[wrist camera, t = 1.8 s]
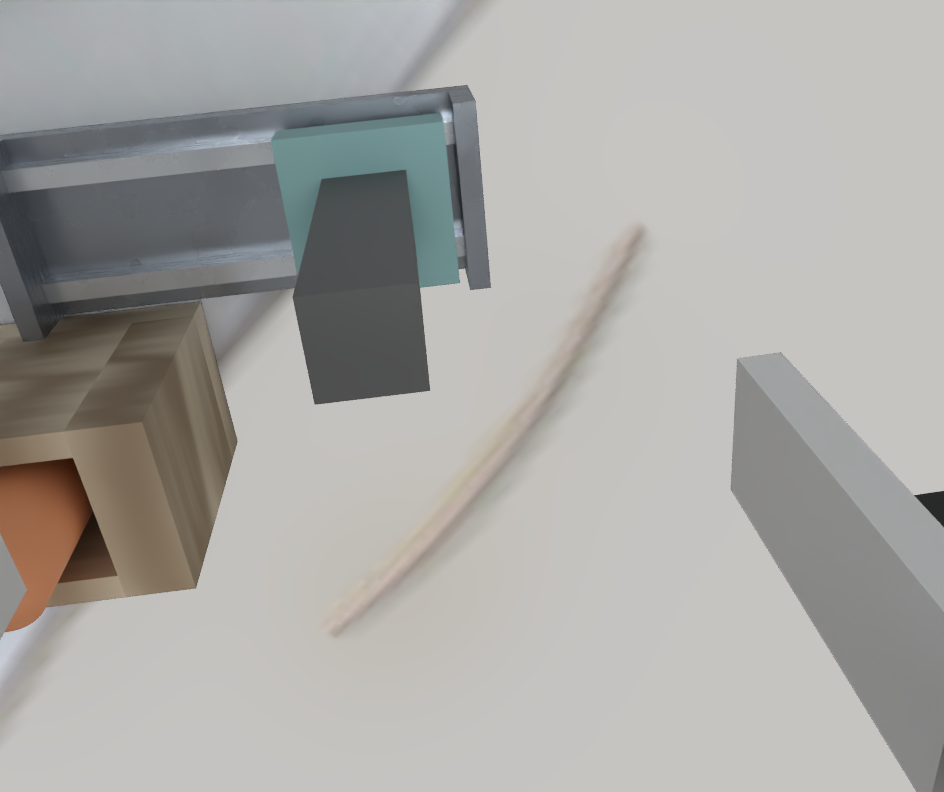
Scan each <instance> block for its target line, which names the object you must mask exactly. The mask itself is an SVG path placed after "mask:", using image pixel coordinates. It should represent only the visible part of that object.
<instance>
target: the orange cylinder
mask: <svg viewBox="0 0 944 792" xmlns="http://www.w3.org/2000/svg"><path fill="white" fill-rule="evenodd" d="M92 512H93V509H92V506H91V504H90V501H89V499H88V496H87V493H86V491H85V488H84V485H83V483H82V480H81V477H80V475H79V472H78V470H77V467H76V464H75V462H74V459H73V458H67V459H59V460H51V461H42V462H34V463H26V464H18V465H9V466H1V467H0V534H1V536H2V539H3V541H4V543H5V545H6V547H7V549H8V551H9V553H10V555H11V557H12V559H13V561H14V564H15V566H16V568H17V570H18V572H19V574H20V576H21V578H22V580H23V582H24V584H25V586H26V589H27V591H26V593H25V595H24V597H23V598H22V600H21V602H20V604H19V606H18V608H17V609H16V611H15V613H14V615H13V617H12V619H11V621H10V622H9V624H8V626H7V628H6V630H5V632H9V631H14V630H18V629H21V628H23V627H25V626H28V625H29V624H31V623H33V622H34V621H35V620H36V619H37V618H38V617H39V616H40V615H41V614H42V612H43V611H44V609H45V607H46V605H47V603H48V601H49V599H50V597H51V595H52V593H53V591H54V589H55V587H56V585H57V583H58V581H59V579H60V577H61V575H62V573H63V571H64V569H65V567H66V565H67V563H68V561H69V559H70V557H71V555H72V553H73V551H74V549H75V547H76V545H77V543H78V541H79V539H80V537H81V535H82V533H83V531H84V529H85V527H86V525H87V523H88V521H89V518H90V516H91V514H92Z"/></svg>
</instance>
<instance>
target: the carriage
mask: <svg viewBox="0 0 944 792" xmlns="http://www.w3.org/2000/svg"><path fill="white" fill-rule="evenodd" d="M271 145H272V150H273V155H274V160H275V165H276V170H277V175H278V180H279V185H280V190H281V195H282V200H283V205H284V210H285V215H286V220H287V225H288V230H289V235H290V240H291V245H292V250H293V255H294V260H295V265H296V270H297V275H298V278H297V282H296V286H295V290H294V294H293V301H294V306H295V310H296V315H297V320H298V325H299V330H300V335H301V340H302V344H303V350H304V354H305V359H306V364H307V369H308V373H309V379H310V383H311V388H312V393H313V398H314V403H315V404H323V403H332V402H340V401H348V400H357V399H365V398H373V397H381V396H390V395H398V394H406V393H414V392H422V391H430V385H429V375H428V365H427V355H426V345H425V335H424V326H423V315H422V306H421V295H420V287H429V286H437V285H446V284H455V283H460V280H459V271H458V260H457V250H456V240H455V230H454V221H453V211H452V201H451V191H450V181H449V171H448V161H447V151H446V141H445V131H444V122H443V118H442V115H441V113H435V114H426V115H417V116H408V117H398V118H389V119H380V120H371V121H362V122H352V123H343V124H334V125H325V126H315V127H306V128H297V129H288V130H279V131H275V133H274V135H273V137H272V139H271Z"/></svg>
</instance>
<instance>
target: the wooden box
mask: <svg viewBox="0 0 944 792" xmlns="http://www.w3.org/2000/svg"><path fill="white" fill-rule="evenodd" d="M236 445H237V438H236V434H235V430H234V426H233V422H232V419H231V415H230V411H229V407H228V404H227V400H226V396H225V392H224V388H223V384H222V381H221V377H220V373H219V369H218V365H217V362H216V358H215V354H214V350H213V346H212V343H211V339H210V335H209V331H208V327H207V323H206V320H205V316H204V312H203V308H202V304H201V302H192V303H184V304H175V305H166V306H158V307H149V308H140V309H132V310H123V311H114V312H106V313H97V314H88V315H80V316H71V317H62V318H61V320H60V321H59V322H58V323H57V324H56V326H55V327H54V328H53V329H52V331H51V332H50V333H49V334H48V335H47V337H46V338H45V339H44V340H36V341H27V342H23V341H22V338H21V336H20V333H19V330H18V328H17V325H16V323H10V324H2V325H0V467H1V466H9V465H18V464H26V463H34V462H42V461H51V460H59V459H67V458H73V459H74V462H75V464H76V467H77V470H78V472H79V475H80V477H81V480H82V483H83V485H84V488H85V491H86V493H87V496H88V499H89V501H90V504H91V506H92V509H93V512H92V514H91V516H90V518H89V521H88V523H87V525H86V527H85V529H84V531H83V533H82V535H81V537H80V539H79V541H78V543H77V545H76V547H75V549H74V551H73V553H72V555H71V557H70V559H69V561H68V563H67V565H66V567H65V569H64V571H63V573H62V575H61V577H60V579H59V581H58V583H57V585H56V587H55V589H54V591H53V593H52V595H51V597H50V599H49V601H48V603H47V605H46V607H53V606H61V605H68V604H76V603H84V602H92V601H100V600H108V599H115V598H123V597H131V596H139V595H146V594H154V593H162V592H170V591H178V590H186V589H194V588H196V586H197V582H198V579H199V576H200V572H201V568H202V565H203V561H204V558H205V554H206V551H207V547H208V544H209V540H210V536H211V533H212V529H213V526H214V523H215V519H216V515H217V512H218V508H219V505H220V501H221V498H222V494H223V491H224V487H225V484H226V480H227V476H228V473H229V469H230V466H231V462H232V458H233V455H234V452H235V448H236Z"/></svg>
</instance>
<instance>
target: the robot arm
mask: <svg viewBox="0 0 944 792" xmlns="http://www.w3.org/2000/svg"><path fill="white" fill-rule="evenodd" d="M731 491H732V492H733V494H734V495H735V497H736V499H737V500H738V502H739V504H740V505H741V507H742V508H743V510H744V512H745V513H746V514H747V517H748V518H749V520H750V521H751V523H752V525H753V526H754V528H755V530H756V531H757V533H758V534H759V536H760V538H761V539H762V541H763V543H764V544H765V546H766V548H767V549H768V551H769V552H770V554H771V555H772V557H773V559H774V560H775V562H776V564H777V565H778V567H779V569H780V570H781V572H782V573H783V575H784V577H785V578H786V580H787V582H788V583H789V585H790V587H791V588H792V590H793V591H794V593H795V594H796V596H797V598H798V600H799V601H800V603H801V605H802V606H803V608H804V609H805V611H806V613H807V614H808V616H809V617H810V619H811V621H812V622H813V624H814V626H815V627H816V629H817V631H818V632H819V634H820V635H821V637H822V639H823V640H824V642H825V643H826V645H827V647H828V648H829V650H830V652H831V653H832V655H833V657H834V658H835V660H836V661H837V663H838V665H839V666H840V668H841V669H842V671H843V673H844V675H845V676H846V678H847V679H848V681H849V683H850V684H851V686H852V688H853V689H854V691H855V692H856V694H857V696H858V697H859V699H860V701H861V702H862V704H863V705H864V707H865V709H866V710H867V712H868V714H869V715H870V717H871V719H872V720H873V721H874V723H875V725H876V727H877V728H878V730H879V732H880V733H881V735H882V736H883V738H884V739H885V741H886V743H887V745H888V746H889V748H890V749H891V751H892V753H893V754H894V756H895V758H896V759H897V761H898V762H899V764H900V766H901V767H902V769H903V771H904V772H905V774H906V776H907V777H908V779H909V780H910V782H911V784H912V785H913V787H914V788H915V790H916V792H944V491H941V492H934V493H927V494H920V495H913V494H912V493H911V492H910V491H909V489H908V488H906V486H905V485H904V484H903V483H902V482H901V481H900V480H899V479H898V478H897V477H896V476H895V474H894V473H893V472H892V471H891V470H890V469H889V468H888V467H887V466H886V465H885V464H884V463H883V462H882V461H881V459H880V458H879V457H878V456H877V455H876V454H875V453H874V452H873V451H872V450H871V449H870V448H869V446H868V445H867V444H866V443H865V442H864V441H863V440H862V439H861V438H860V437H859V436H858V435H857V434H856V432H855V431H854V430H853V429H851V427H850V426H849V425H848V424H847V423H846V422H845V421H844V420H843V419H842V417H841V416H840V415H839V414H838V413H837V412H836V411H835V410H834V409H833V408H832V407H831V406H830V405H829V403H828V402H827V401H826V400H825V399H824V398H823V397H822V396H821V395H820V394H819V393H818V392H817V391H816V389H815V388H814V387H813V386H812V385H811V384H810V383H809V382H808V381H807V380H806V379H805V378H804V377H803V375H802V374H800V372H799V371H798V370H797V369H796V368H795V367H794V366H793V365H792V364H791V363H790V362H789V360H788V359H787V358H786V357H785V356H784V355H783V354H782V353H781V352H780V353H773V354H766V355H759V356H752V357H745V358H738V359H737V373H736V392H735V413H734V435H733V454H732V475H731ZM26 591H27V589H26V586H25V584H24V582H23V580H22V578H21V576H20V574H19V572H18V570H17V568H16V566H15V564H14V561H13V559H12V557H11V555H10V553H9V551H8V549H7V547H6V545H5V543H4V541H3V539H2V536H1V534H0V639H1V637H2V635H3V633H4V632H5V630H6V628H7V626H8V624H9V622H10V621H11V619H12V617H13V615H14V613H15V611H16V609H17V608H18V606H19V604H20V602H21V600H22V598H23V597H24V595H25V593H26Z"/></svg>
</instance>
